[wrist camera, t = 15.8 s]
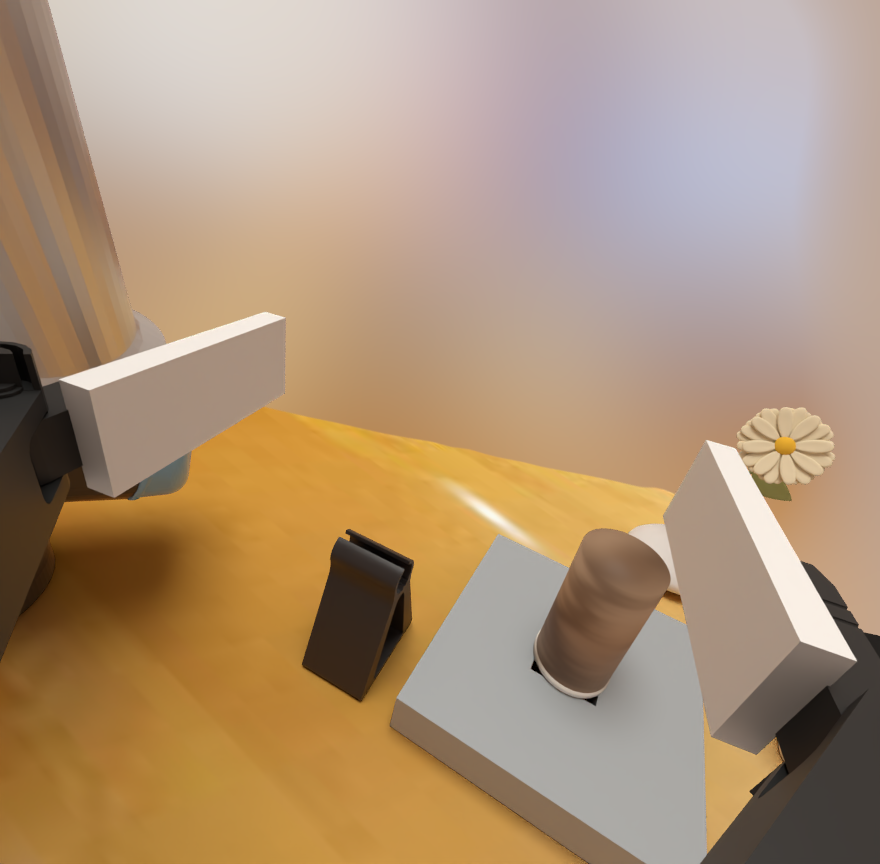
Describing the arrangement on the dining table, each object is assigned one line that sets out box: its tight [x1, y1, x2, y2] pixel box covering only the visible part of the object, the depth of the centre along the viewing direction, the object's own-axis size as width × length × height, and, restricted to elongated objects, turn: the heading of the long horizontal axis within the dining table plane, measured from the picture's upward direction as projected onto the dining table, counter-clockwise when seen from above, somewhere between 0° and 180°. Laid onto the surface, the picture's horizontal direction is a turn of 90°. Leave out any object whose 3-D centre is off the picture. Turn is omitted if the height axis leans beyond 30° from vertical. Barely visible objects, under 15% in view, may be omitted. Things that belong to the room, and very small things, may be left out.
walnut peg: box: [533, 529, 671, 699], centre depth 37 cm, size 7×7×16 cm
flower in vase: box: [628, 407, 835, 595], centre depth 51 cm, size 13×11×25 cm
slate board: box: [390, 534, 707, 864], centre depth 40 cm, size 22×22×4 cm
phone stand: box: [302, 529, 414, 701], centre depth 38 cm, size 9×6×12 cm, turn 155°
